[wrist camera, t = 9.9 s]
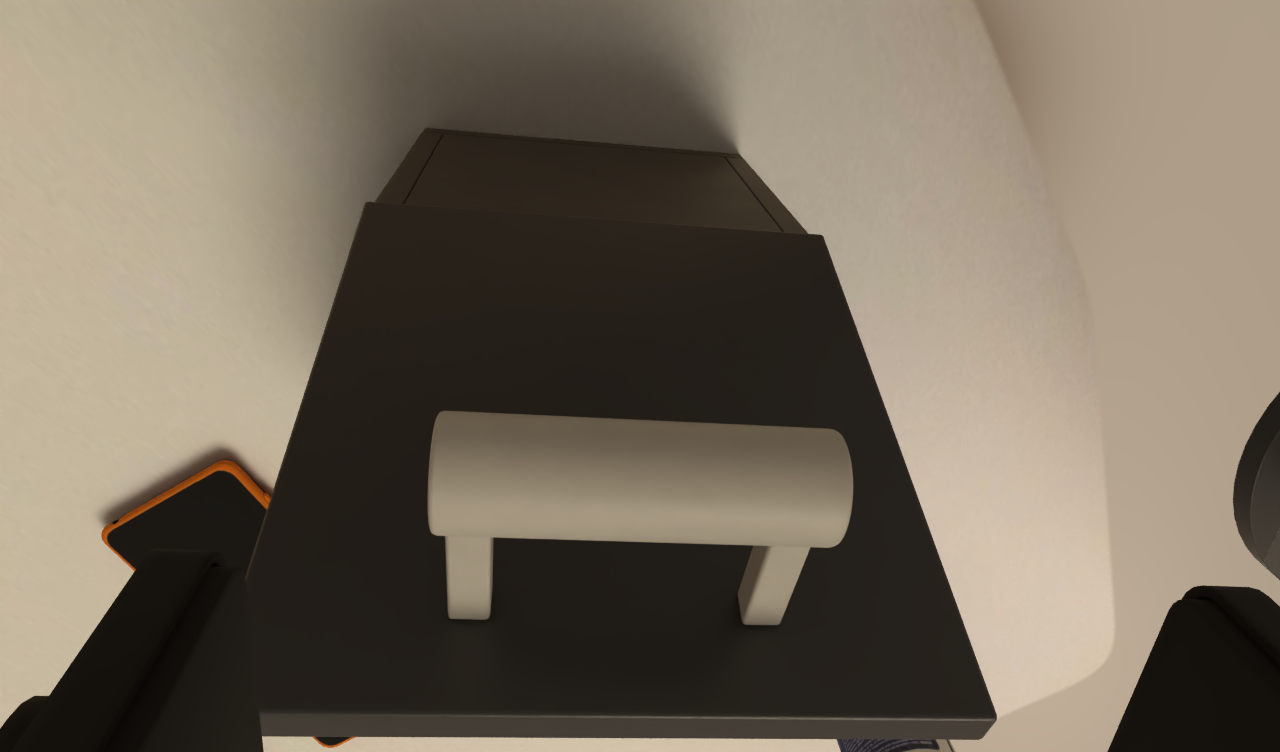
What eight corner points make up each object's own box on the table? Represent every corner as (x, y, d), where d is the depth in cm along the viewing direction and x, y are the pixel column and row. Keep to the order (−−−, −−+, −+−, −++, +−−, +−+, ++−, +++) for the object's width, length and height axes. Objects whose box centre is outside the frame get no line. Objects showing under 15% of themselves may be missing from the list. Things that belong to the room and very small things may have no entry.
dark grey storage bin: (698, 444, 43) (746, 611, 32) (425, 432, 41) (380, 603, 31) (740, 154, 37) (816, 240, 26) (424, 127, 35) (369, 208, 25)
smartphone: (330, 742, 49) (326, 755, 48) (101, 524, 42) (92, 535, 41) (448, 682, 47) (446, 695, 47) (233, 448, 40) (227, 458, 40)
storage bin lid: (982, 741, 16) (1120, 567, 12) (210, 738, 14) (127, 537, 11) (816, 256, 26) (866, 93, 23) (367, 225, 25) (350, 44, 21)
